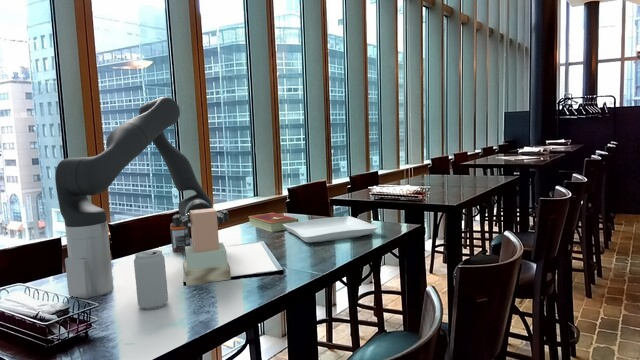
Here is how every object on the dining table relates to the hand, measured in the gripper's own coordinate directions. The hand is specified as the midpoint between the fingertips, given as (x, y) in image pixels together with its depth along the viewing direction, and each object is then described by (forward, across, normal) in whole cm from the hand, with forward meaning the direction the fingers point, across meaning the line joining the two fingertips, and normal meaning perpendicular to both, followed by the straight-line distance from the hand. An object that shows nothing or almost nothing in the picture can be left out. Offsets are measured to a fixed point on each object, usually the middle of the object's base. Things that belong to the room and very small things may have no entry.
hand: (203, 222), depth 126 cm
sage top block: (0, 0, +11) cm, 11 cm away
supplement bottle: (-36, -5, +15) cm, 39 cm away
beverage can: (+17, -13, +15) cm, 26 cm away
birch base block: (0, 0, +15) cm, 15 cm away
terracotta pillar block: (0, 0, +7) cm, 7 cm away
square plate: (-33, +45, +15) cm, 58 cm away
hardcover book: (-59, +31, +15) cm, 68 cm away
